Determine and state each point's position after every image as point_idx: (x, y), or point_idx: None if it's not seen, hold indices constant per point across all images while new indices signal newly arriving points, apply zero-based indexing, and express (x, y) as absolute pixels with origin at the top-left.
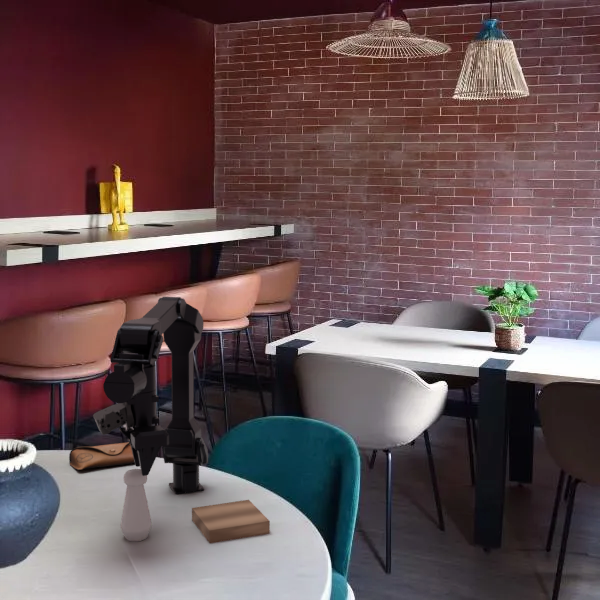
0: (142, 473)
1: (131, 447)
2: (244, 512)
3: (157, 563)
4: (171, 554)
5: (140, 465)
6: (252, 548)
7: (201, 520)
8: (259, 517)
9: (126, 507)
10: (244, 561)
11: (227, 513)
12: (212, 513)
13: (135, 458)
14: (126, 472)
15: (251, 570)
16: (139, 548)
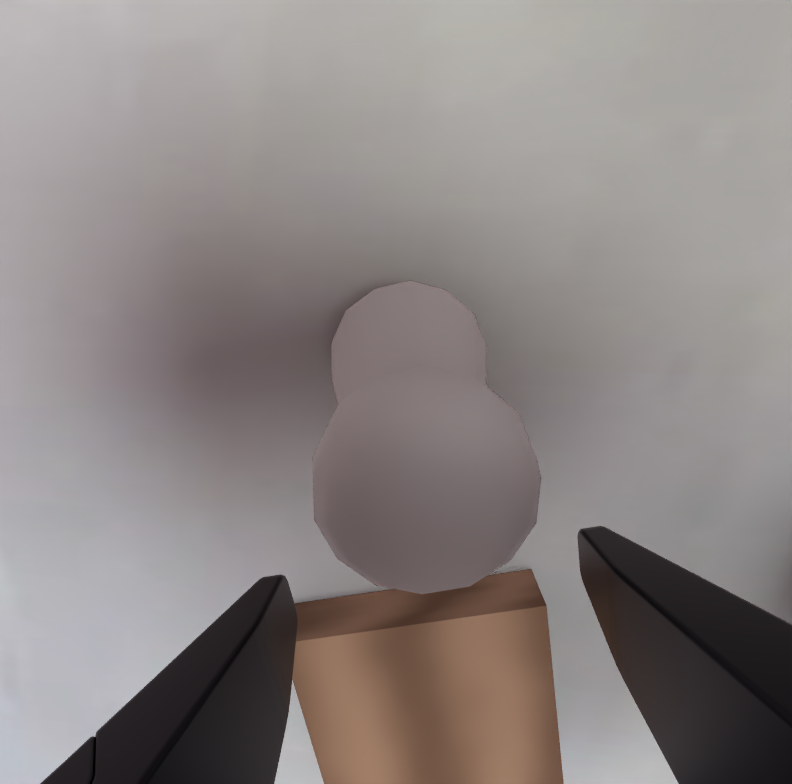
0: (246, 593)
1: (769, 679)
2: (437, 767)
3: (128, 417)
4: (208, 472)
5: (193, 657)
6: None
7: (395, 626)
8: None
9: (374, 334)
10: (130, 683)
11: (442, 717)
12: (458, 670)
13: (621, 587)
14: (432, 420)
15: (62, 691)
16: (283, 354)
